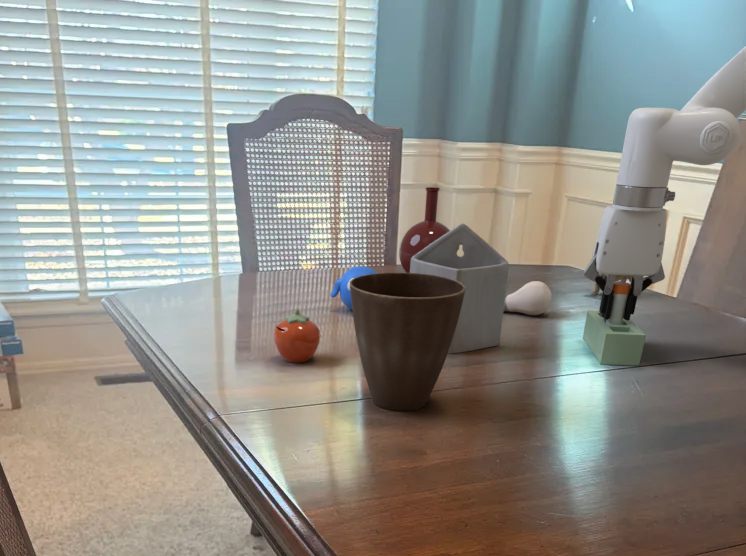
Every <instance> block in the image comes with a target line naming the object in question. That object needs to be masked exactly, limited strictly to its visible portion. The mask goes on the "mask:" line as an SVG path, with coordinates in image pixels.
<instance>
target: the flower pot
mask: <svg viewBox="0 0 746 556" xmlns="http://www.w3.org/2000/svg"><path fill="white" fill-rule="evenodd" d="M350 290H351V300H352V310H351V311H352V318H353V325H354V331H355V337H356V342H357V348H358V352H359V357H360V361H361V365H362V366H361V367H362V370H363V373H364V374H363V375H364V377H365V381H366V384H367V387H368V390H369V393H370V396H371V400H372V402H373V403H374V404H375V405H376V406H378V407H380V408H383V409H386V410H390V411H396V412H409V411H410V412H411V411H416V410H419V409H421V408H423V407H424V406H425V405H427V402H428V400H429V398H430V396H431V394H432V393H433V390H434V388H435V386H436V384H437V381H438V379H439V377H440V374H441V372H442V369H443V367H444V365H445V362H446V359H447V356H448V355H449V354H448V351H449V348H450V345H451V342H452V339H453V336H454V333H455V330H456V326H457V323H458V319H459V315H460V311H461V307H462V303H463V299H464V294H465V290H466V287H465V285H464V284H463V283H461V282H459V281H456V280H453V279H450V278H446V277H441V276H436V275H429V274H420V273H406V272H377V274H368V275H363V276H359V277H356V278H354V279H352V280H351V281H350Z"/></svg>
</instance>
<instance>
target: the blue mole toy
mask: <svg viewBox="0 0 746 556" xmlns="http://www.w3.org/2000/svg"><path fill="white" fill-rule="evenodd" d="M377 273H378V272H377V271H376V270H375V269H373V268H371V267H368V266H363V265H362V266H360V265H358V266H354V267H351V268H350V269H348V270H346V272H344V274H343V275H342V277H340V278H338V279H336V281H335V282H334V286H333V289H332V291H331V292H330V298H335V297H337V296H338V294H339V298H340V300H341V301H342V303H343V305H344V306H345V307H346V308H347V309H349V310H351V311H353V310H352V300H351V290H350V281H351V280H352V279H354V278H356V277H359V276H363V275H368V274H377Z"/></svg>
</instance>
